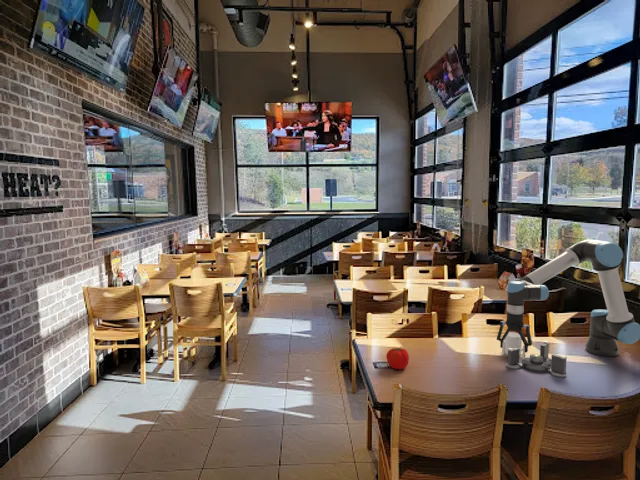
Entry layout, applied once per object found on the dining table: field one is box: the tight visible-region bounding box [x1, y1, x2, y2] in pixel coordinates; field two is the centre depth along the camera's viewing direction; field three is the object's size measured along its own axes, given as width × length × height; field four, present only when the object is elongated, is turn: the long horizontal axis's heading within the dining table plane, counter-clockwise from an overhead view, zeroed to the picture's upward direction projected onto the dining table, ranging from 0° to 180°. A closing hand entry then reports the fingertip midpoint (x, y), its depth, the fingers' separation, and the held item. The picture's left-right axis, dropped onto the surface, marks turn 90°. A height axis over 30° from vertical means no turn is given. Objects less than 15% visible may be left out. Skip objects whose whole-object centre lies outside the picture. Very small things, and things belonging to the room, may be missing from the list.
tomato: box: [385, 346, 410, 370], centre depth 219 cm, size 11×13×10 cm
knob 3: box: [550, 353, 568, 374], centre depth 207 cm, size 6×2×8 cm, turn 34°
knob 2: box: [539, 340, 550, 360], centre depth 224 cm, size 6×2×8 cm, turn 134°
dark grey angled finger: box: [507, 348, 520, 365], centre depth 218 cm, size 6×2×8 cm, turn 117°
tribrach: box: [505, 353, 567, 378], centre depth 217 cm, size 25×24×6 cm
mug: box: [504, 331, 523, 356], centre depth 235 cm, size 9×12×11 cm
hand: (513, 356), depth 218 cm, fingers open, 9 cm apart
